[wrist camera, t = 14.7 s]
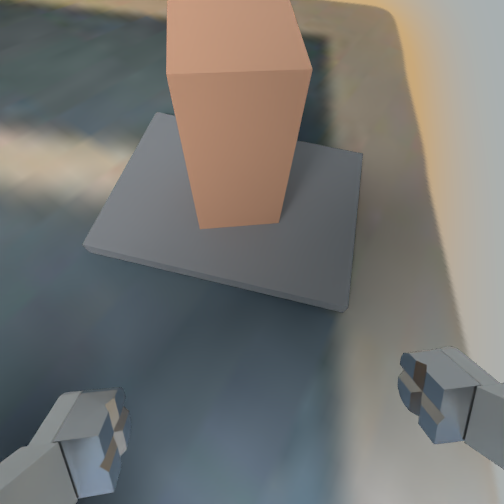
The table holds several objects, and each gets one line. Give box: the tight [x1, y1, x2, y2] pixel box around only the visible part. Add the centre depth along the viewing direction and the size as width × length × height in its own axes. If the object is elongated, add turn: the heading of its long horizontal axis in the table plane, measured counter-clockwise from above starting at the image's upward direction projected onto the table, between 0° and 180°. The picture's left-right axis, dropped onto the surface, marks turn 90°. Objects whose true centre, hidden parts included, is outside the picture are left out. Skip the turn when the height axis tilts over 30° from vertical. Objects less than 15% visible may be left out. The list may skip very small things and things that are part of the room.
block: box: [166, 0, 312, 229], centre depth 16 cm, size 5×5×10 cm
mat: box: [82, 112, 363, 313], centre depth 21 cm, size 16×12×1 cm
